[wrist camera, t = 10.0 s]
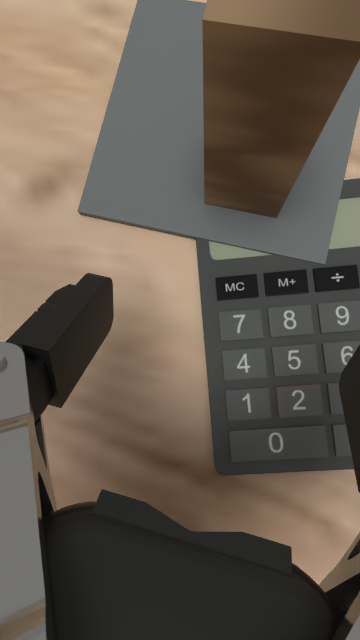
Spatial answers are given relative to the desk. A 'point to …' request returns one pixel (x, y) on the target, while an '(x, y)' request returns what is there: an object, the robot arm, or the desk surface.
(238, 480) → the desk surface
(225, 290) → the calculator
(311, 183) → the mat
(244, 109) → the block
